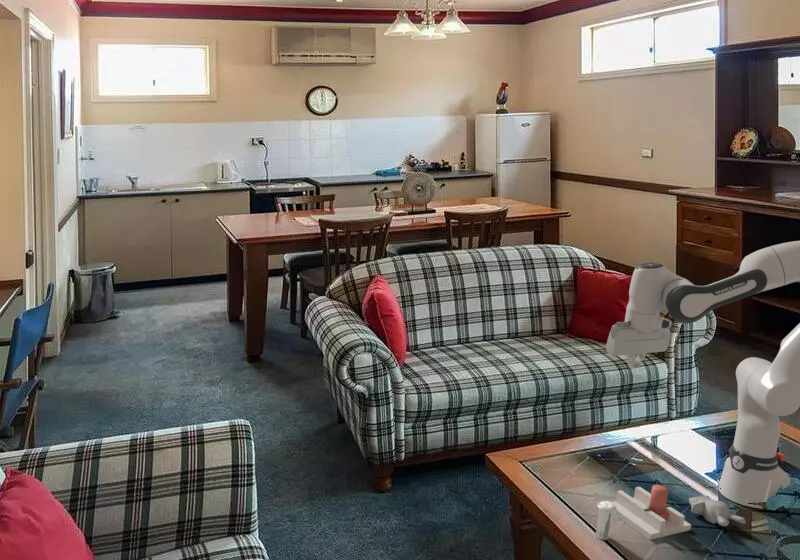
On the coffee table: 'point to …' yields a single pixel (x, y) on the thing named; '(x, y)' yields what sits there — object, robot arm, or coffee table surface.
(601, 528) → the milkshake
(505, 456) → the coffee table surface
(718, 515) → the bunny figurine
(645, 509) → the white slider track base
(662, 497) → the red plug
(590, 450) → the coffee table surface
